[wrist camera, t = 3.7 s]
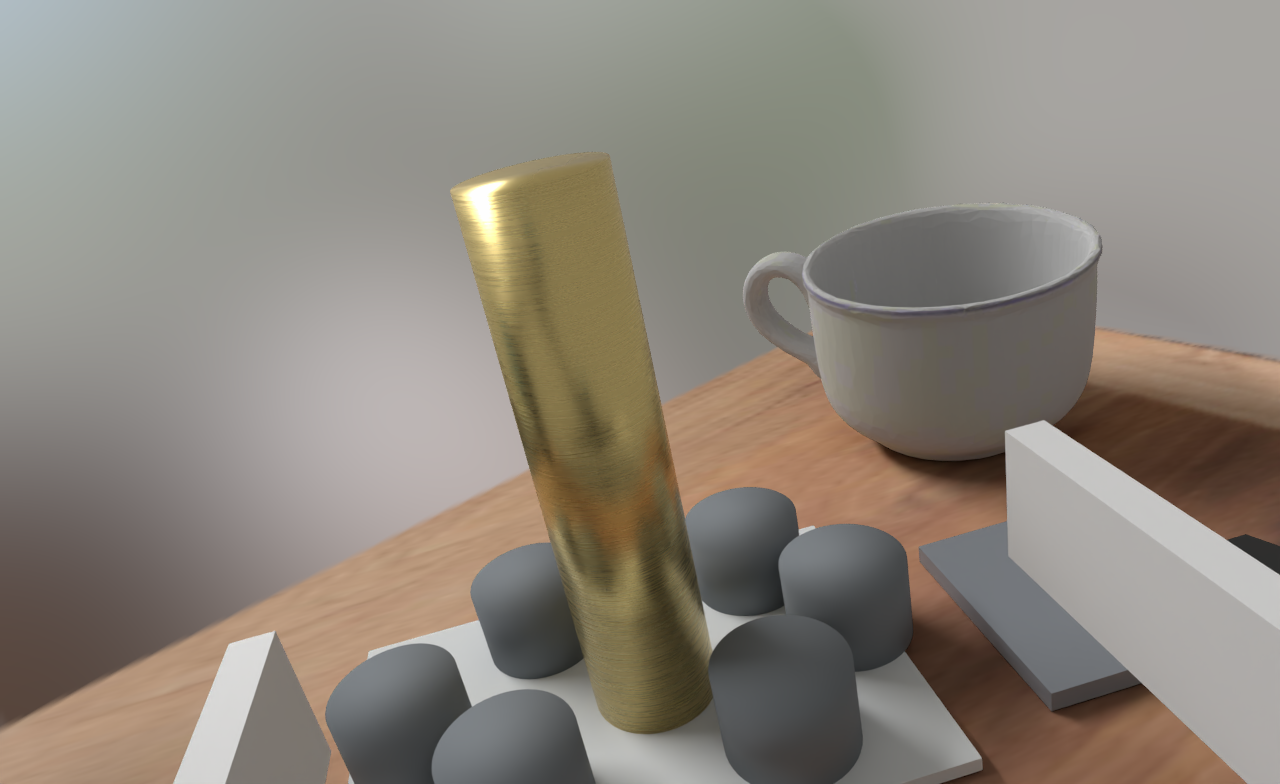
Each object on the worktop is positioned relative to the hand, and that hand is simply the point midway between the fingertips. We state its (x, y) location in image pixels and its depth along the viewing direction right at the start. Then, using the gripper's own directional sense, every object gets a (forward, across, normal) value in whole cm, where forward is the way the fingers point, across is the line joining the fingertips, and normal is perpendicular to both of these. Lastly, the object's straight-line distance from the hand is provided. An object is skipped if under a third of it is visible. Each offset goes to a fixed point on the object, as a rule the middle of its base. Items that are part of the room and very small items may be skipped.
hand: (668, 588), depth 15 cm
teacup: (+19, +14, -9) cm, 25 cm away
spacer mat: (+7, -1, -9) cm, 11 cm away
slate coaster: (+6, +13, -9) cm, 17 cm away
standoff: (+7, 0, -8) cm, 11 cm away
